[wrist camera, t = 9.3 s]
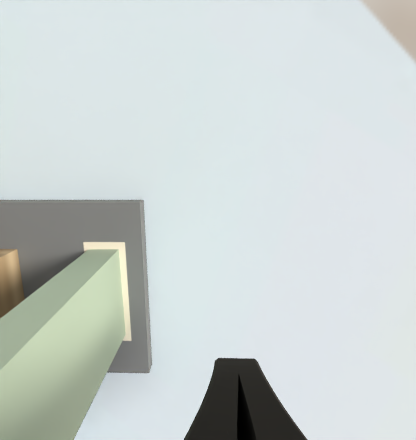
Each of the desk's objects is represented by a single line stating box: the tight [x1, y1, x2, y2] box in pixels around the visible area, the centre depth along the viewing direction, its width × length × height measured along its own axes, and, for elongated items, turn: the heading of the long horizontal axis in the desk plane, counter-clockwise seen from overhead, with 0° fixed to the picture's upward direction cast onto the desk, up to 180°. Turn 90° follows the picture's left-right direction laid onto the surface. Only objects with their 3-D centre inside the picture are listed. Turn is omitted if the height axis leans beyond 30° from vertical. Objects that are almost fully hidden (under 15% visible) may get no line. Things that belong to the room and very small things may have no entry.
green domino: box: [0, 249, 126, 440], centre depth 12 cm, size 2×5×10 cm, turn 1°
